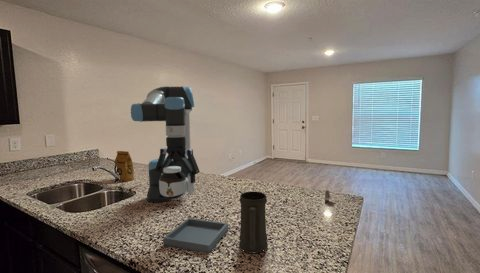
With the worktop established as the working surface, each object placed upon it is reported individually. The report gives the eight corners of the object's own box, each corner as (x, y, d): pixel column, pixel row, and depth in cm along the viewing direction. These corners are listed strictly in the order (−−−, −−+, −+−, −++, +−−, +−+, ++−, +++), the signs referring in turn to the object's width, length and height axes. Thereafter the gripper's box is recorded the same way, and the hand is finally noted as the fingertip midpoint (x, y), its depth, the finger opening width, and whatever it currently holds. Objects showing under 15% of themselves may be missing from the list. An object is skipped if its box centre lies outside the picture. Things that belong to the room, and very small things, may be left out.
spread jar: (156, 198, 101) (155, 168, 100) (174, 190, 111) (173, 163, 110) (182, 201, 96) (181, 171, 95) (198, 192, 107) (197, 165, 106)
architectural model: (331, 201, 143) (332, 188, 142) (331, 205, 137) (331, 192, 136) (325, 200, 144) (325, 188, 144) (324, 205, 138) (324, 191, 137)
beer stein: (237, 238, 101) (237, 190, 98) (264, 237, 102) (265, 189, 99) (241, 263, 86) (241, 208, 83) (272, 261, 87) (273, 206, 84)
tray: (163, 245, 97) (163, 237, 96) (188, 224, 115) (188, 217, 114) (209, 253, 91) (209, 245, 91) (228, 230, 109) (228, 223, 109)
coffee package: (125, 182, 184) (123, 152, 182) (113, 180, 190) (111, 151, 187) (136, 179, 193) (134, 150, 191) (125, 177, 198) (123, 149, 196)
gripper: (144, 136, 102) (146, 189, 104) (198, 137, 94) (199, 195, 96) (156, 135, 109) (158, 184, 111) (207, 136, 101) (208, 189, 103)
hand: (177, 189), depth 104 cm, fingers closed on spread jar, 12 cm apart
